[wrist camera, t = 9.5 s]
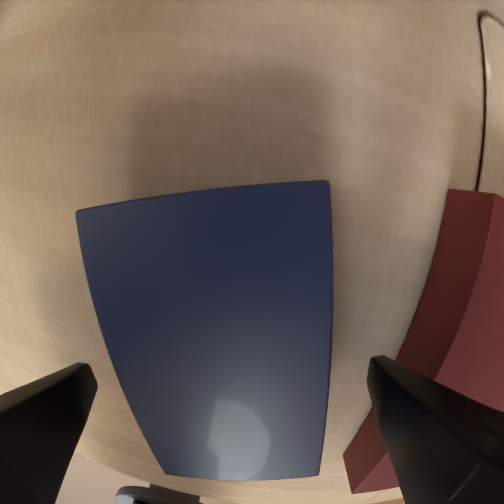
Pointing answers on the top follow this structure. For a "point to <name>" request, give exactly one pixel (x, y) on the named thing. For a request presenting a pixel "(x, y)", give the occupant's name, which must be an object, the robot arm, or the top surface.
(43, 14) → the top surface
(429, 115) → the top surface
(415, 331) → the burgundy book
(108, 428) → the top surface
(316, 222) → the navy book
